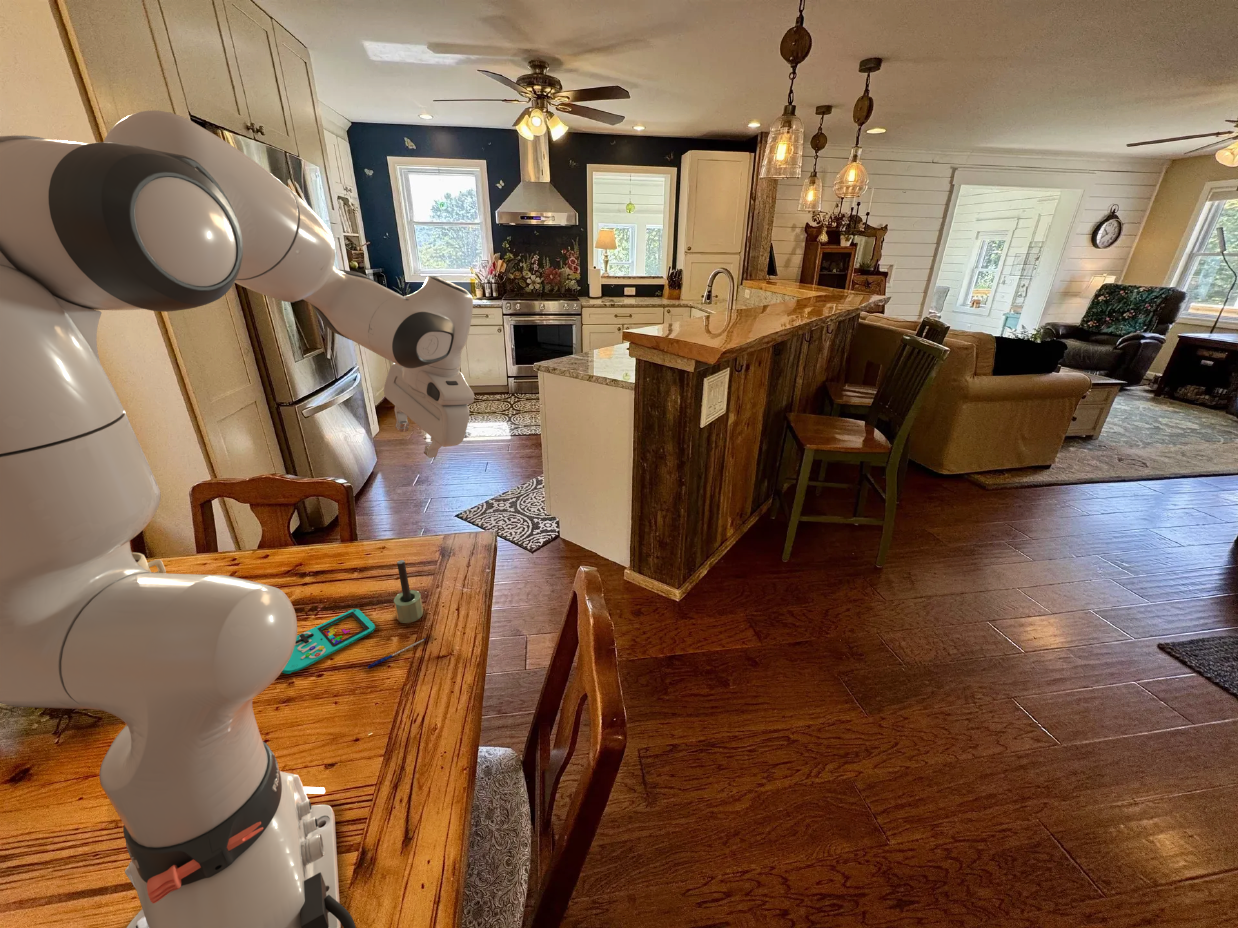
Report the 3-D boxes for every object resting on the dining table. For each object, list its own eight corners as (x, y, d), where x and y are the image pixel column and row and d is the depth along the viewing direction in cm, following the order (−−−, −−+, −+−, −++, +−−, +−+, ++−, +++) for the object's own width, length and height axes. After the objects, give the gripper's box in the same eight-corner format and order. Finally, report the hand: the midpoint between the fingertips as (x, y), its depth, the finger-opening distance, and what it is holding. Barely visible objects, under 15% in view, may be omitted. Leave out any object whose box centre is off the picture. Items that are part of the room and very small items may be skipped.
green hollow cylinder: (427, 617, 94) (424, 598, 92) (402, 628, 91) (399, 608, 89) (418, 605, 97) (414, 586, 95) (394, 615, 94) (390, 596, 93)
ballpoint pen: (369, 672, 82) (367, 668, 81) (366, 669, 82) (365, 665, 82) (429, 640, 89) (428, 636, 88) (426, 638, 89) (426, 633, 89)
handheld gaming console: (266, 648, 84) (356, 606, 95) (268, 653, 85) (357, 610, 95) (284, 674, 79) (377, 626, 90) (286, 678, 80) (378, 630, 90)
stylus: (415, 614, 94) (405, 562, 89) (408, 617, 93) (398, 564, 88) (412, 611, 95) (403, 559, 90) (405, 614, 94) (395, 561, 89)
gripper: (381, 348, 87) (369, 416, 93) (449, 401, 78) (431, 473, 84) (414, 349, 92) (400, 414, 98) (481, 400, 83) (462, 468, 89)
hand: (415, 442), depth 91 cm, fingers open, 8 cm apart
